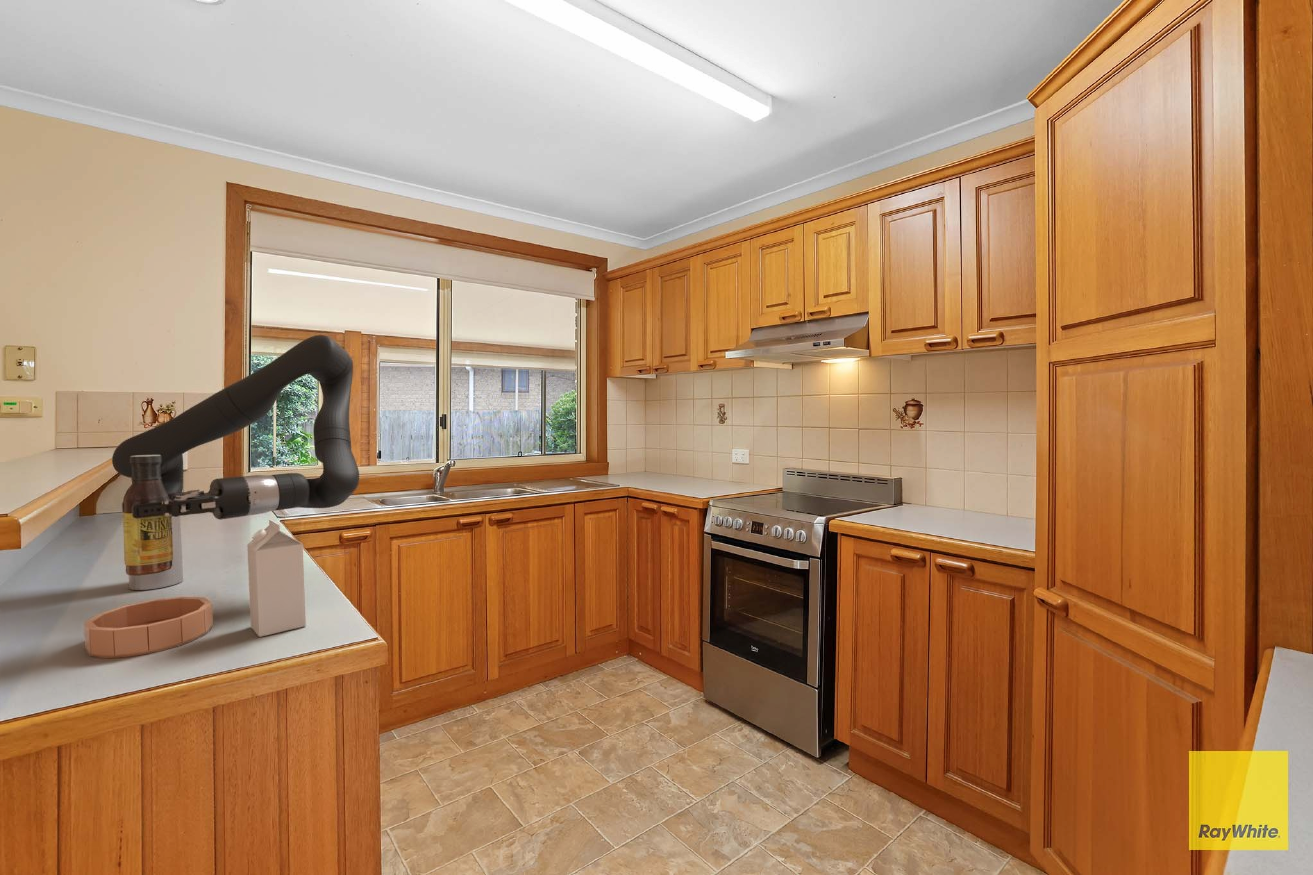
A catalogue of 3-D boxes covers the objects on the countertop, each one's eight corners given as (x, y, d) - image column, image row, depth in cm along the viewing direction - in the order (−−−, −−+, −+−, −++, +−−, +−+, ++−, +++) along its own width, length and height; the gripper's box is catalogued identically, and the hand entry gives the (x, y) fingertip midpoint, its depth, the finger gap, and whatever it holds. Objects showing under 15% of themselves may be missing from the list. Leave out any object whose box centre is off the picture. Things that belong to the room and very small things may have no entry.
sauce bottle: (145, 578, 96) (137, 457, 95) (115, 576, 97) (106, 457, 96) (185, 567, 102) (177, 453, 101) (156, 565, 103) (148, 453, 102)
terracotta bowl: (78, 641, 99) (76, 615, 98) (195, 614, 111) (194, 591, 111) (99, 667, 89) (97, 637, 89) (224, 634, 102) (223, 608, 101)
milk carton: (296, 617, 110) (292, 516, 109) (306, 627, 105) (302, 521, 104) (250, 627, 105) (245, 521, 104) (259, 638, 100) (254, 527, 99)
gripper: (230, 473, 114) (115, 484, 101) (258, 478, 106) (137, 490, 92) (232, 511, 115) (118, 527, 102) (261, 519, 106) (140, 537, 93)
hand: (127, 509), depth 97 cm, fingers closed on sauce bottle, 6 cm apart
